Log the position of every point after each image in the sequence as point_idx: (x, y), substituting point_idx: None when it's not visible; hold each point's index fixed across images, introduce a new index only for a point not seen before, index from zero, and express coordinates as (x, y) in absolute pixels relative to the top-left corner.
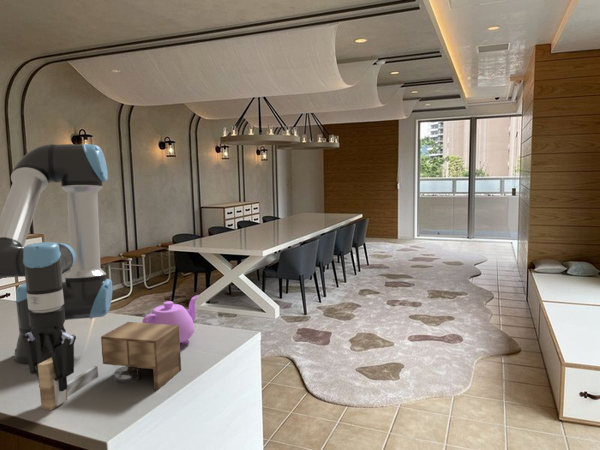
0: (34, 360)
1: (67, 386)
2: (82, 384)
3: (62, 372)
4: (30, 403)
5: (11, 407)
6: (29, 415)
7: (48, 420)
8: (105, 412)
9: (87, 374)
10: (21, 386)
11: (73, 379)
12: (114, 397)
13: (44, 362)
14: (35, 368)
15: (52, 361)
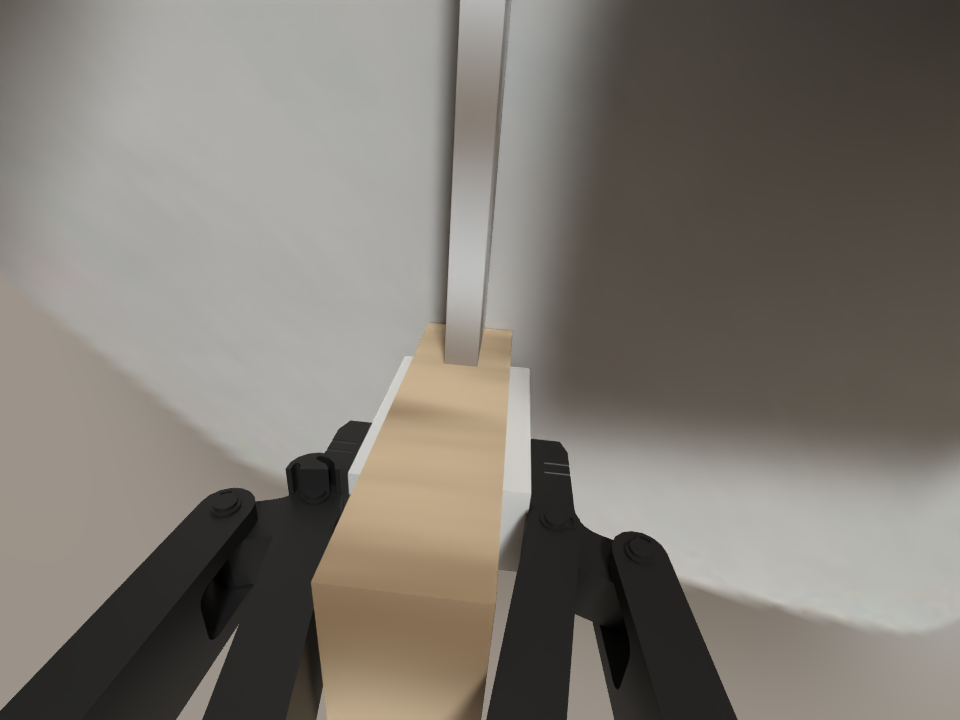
0: (186, 672)
1: (481, 315)
2: (500, 117)
3: (598, 645)
4: (307, 390)
5: (242, 436)
6: None
7: None
8: (855, 445)
9: (505, 17)
10: (7, 177)
11: (462, 212)
12: (865, 261)
13: (361, 715)
14: (237, 576)
15: (438, 699)
